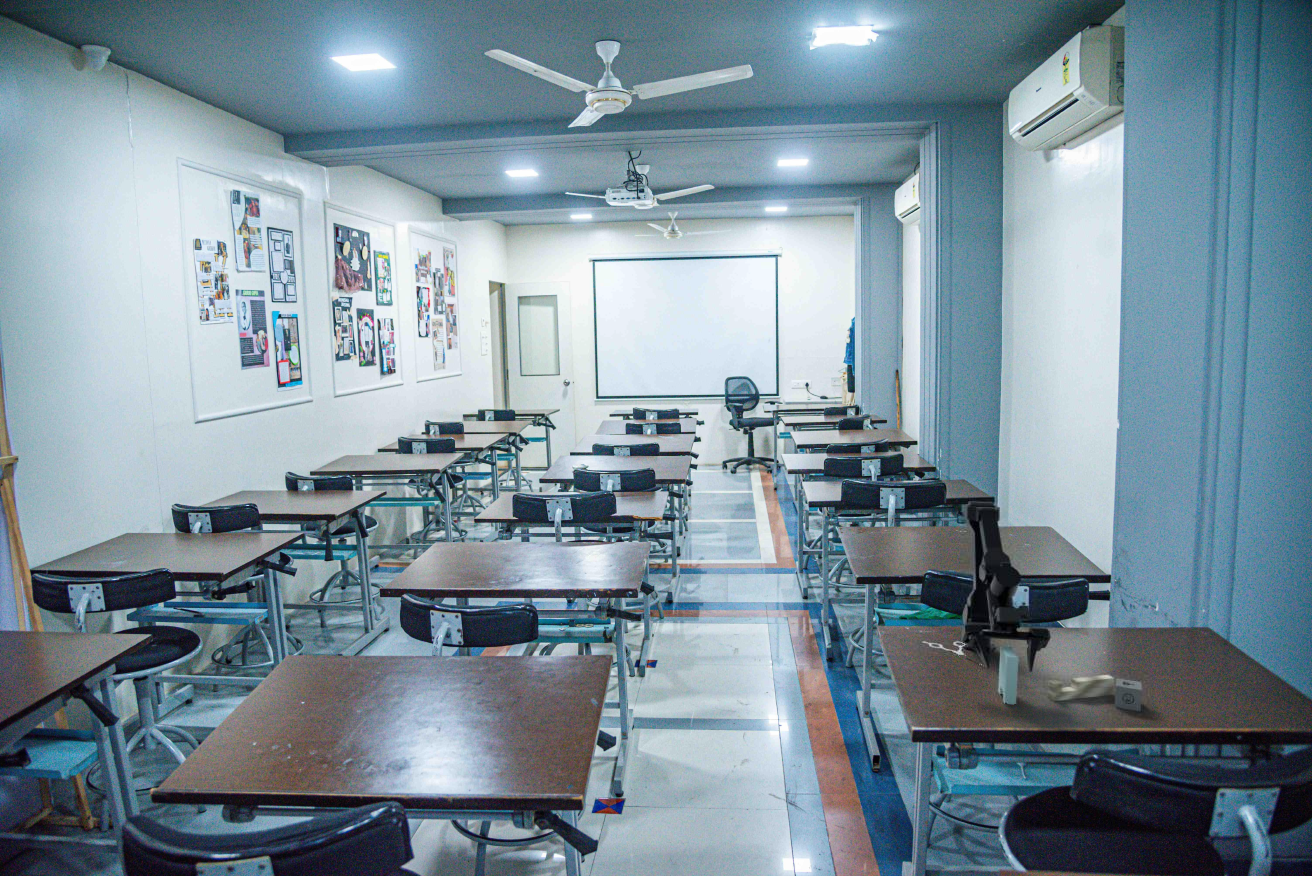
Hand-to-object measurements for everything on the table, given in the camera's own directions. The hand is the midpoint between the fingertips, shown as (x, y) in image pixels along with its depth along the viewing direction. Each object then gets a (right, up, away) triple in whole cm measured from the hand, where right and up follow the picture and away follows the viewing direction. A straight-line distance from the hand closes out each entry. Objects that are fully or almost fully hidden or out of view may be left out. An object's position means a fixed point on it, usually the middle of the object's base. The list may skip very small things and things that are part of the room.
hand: (1009, 669), depth 196 cm
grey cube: (+26, -8, -2) cm, 27 cm away
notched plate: (0, -7, +2) cm, 7 cm away
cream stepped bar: (+18, -7, +3) cm, 19 cm away
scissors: (-1, -4, +29) cm, 30 cm away
